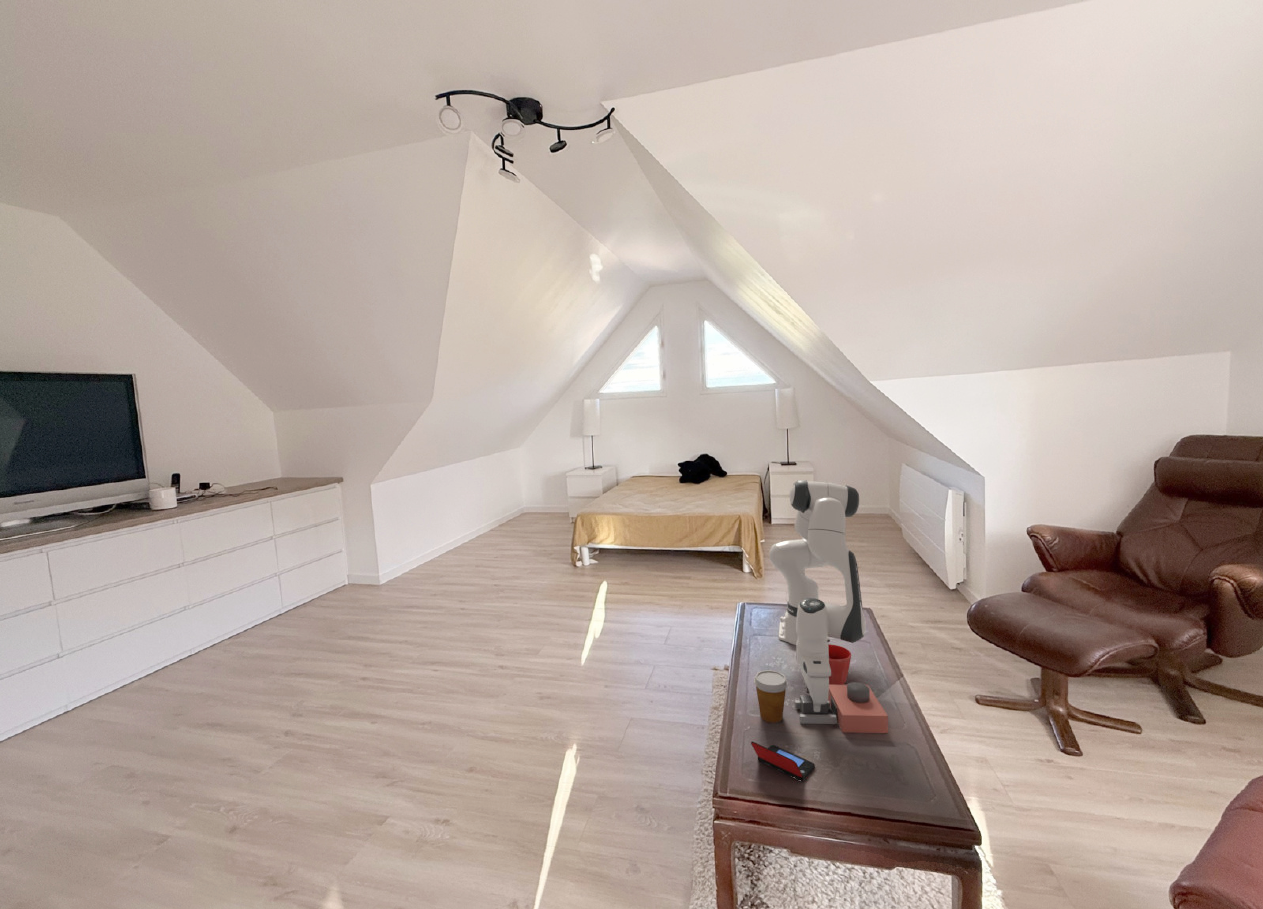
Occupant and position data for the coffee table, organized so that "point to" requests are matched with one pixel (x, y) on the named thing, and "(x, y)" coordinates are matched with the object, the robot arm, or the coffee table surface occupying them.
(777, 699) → the disposable coffee cup
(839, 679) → the flower pot
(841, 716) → the pink block with rods
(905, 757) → the coffee table surface
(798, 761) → the handheld game console
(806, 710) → the tall grey rectangular block
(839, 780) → the coffee table surface
